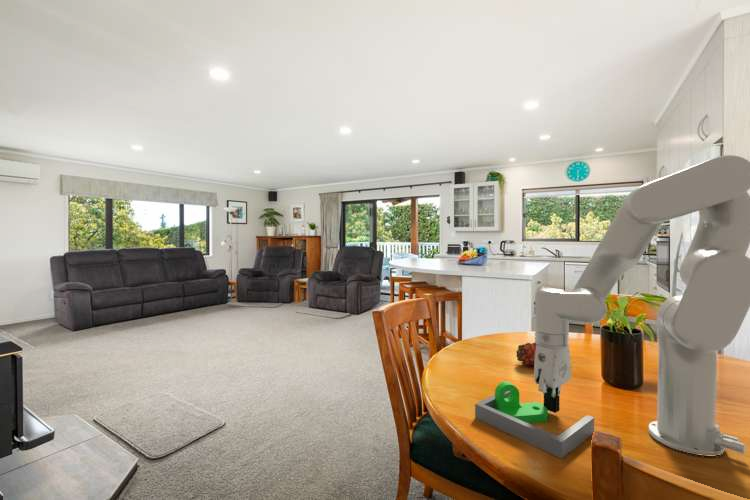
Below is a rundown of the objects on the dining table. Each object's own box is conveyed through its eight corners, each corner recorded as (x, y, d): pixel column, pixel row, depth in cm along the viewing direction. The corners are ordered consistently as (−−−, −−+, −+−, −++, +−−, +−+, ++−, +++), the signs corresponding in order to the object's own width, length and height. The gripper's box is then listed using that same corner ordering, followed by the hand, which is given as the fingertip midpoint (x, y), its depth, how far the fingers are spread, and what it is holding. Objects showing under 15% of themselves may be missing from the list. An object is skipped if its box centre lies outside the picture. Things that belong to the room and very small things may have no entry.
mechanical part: (506, 425, 85) (506, 392, 85) (494, 412, 91) (495, 382, 91) (553, 421, 87) (553, 388, 87) (538, 409, 93) (538, 379, 92)
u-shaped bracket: (593, 432, 81) (594, 417, 81) (561, 458, 72) (562, 441, 72) (510, 399, 98) (510, 387, 98) (475, 417, 89) (475, 403, 89)
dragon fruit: (517, 373, 121) (537, 370, 128) (537, 363, 116) (557, 361, 123) (506, 348, 126) (526, 347, 133) (525, 339, 120) (545, 338, 127)
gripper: (551, 347, 82) (551, 425, 83) (580, 336, 91) (580, 406, 92) (521, 340, 88) (521, 413, 89) (551, 330, 97) (551, 396, 98)
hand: (551, 409), depth 90 cm, fingers closed
